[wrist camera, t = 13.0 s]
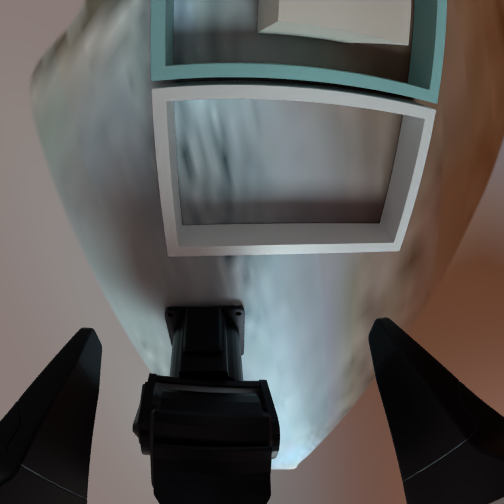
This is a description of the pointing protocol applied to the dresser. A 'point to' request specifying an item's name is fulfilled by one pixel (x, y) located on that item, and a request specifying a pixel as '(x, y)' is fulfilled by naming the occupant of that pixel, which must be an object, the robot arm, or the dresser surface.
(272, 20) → the cream block
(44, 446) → the robot arm
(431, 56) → the teal bin
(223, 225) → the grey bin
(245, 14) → the dresser surface
